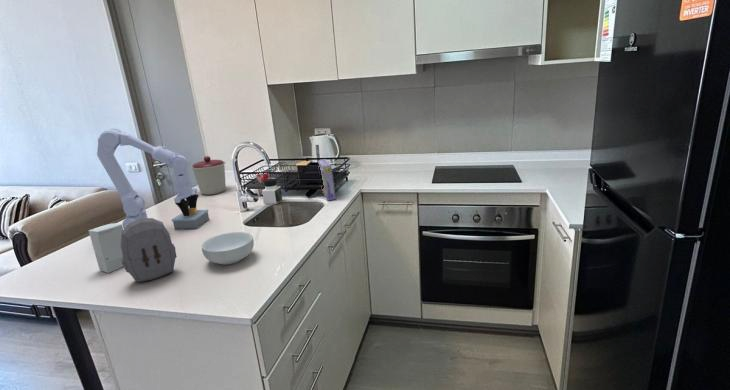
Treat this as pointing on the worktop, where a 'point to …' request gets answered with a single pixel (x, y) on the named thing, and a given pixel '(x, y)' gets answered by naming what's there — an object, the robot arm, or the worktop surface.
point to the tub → (191, 223)
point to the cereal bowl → (228, 247)
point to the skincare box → (107, 246)
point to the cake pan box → (327, 179)
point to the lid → (190, 215)
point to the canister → (210, 176)
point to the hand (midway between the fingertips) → (190, 213)
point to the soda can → (262, 179)
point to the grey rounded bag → (147, 249)
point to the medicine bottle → (271, 191)
